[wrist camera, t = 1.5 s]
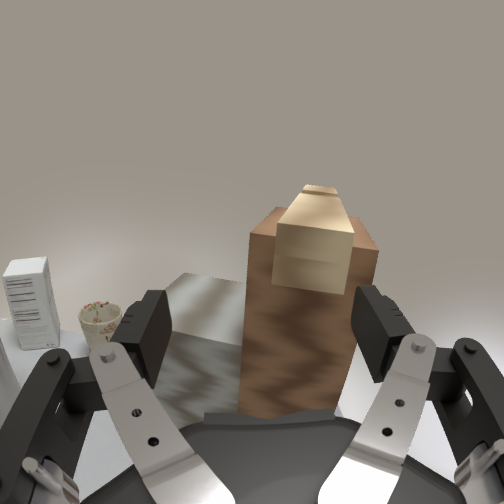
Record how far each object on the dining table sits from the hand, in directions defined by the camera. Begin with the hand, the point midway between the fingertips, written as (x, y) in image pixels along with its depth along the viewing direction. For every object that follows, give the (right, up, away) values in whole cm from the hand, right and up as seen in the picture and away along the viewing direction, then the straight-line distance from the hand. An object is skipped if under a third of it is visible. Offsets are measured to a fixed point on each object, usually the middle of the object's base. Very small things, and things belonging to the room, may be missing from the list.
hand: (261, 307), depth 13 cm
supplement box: (-46, -16, +40) cm, 63 cm away
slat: (+5, +4, +13) cm, 14 cm away
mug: (-30, -17, +41) cm, 53 cm away
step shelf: (-2, -24, +27) cm, 36 cm away
